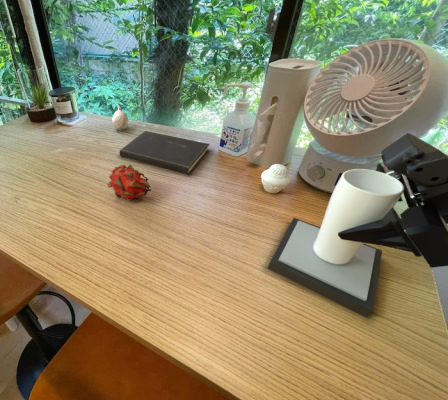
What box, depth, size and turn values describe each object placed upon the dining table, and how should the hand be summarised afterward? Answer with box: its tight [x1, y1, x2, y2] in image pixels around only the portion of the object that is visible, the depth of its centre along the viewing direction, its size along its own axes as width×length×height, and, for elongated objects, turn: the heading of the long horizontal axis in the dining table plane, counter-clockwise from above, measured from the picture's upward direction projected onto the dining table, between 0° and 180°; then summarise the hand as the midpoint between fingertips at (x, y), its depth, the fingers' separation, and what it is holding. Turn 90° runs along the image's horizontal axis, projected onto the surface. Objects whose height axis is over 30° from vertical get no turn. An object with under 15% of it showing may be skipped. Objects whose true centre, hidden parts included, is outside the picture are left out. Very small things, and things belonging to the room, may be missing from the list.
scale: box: [266, 217, 383, 318], centre depth 45 cm, size 14×14×2 cm
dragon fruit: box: [106, 164, 152, 202], centre depth 63 cm, size 8×8×12 cm
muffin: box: [260, 163, 291, 194], centre depth 60 cm, size 6×6×7 cm
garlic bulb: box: [111, 105, 129, 131], centre depth 95 cm, size 7×6×8 cm
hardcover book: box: [119, 130, 210, 176], centre depth 79 cm, size 16×23×2 cm
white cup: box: [313, 168, 404, 264], centre depth 39 cm, size 7×7×15 cm
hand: (338, 219), depth 40 cm, fingers open, 7 cm apart
